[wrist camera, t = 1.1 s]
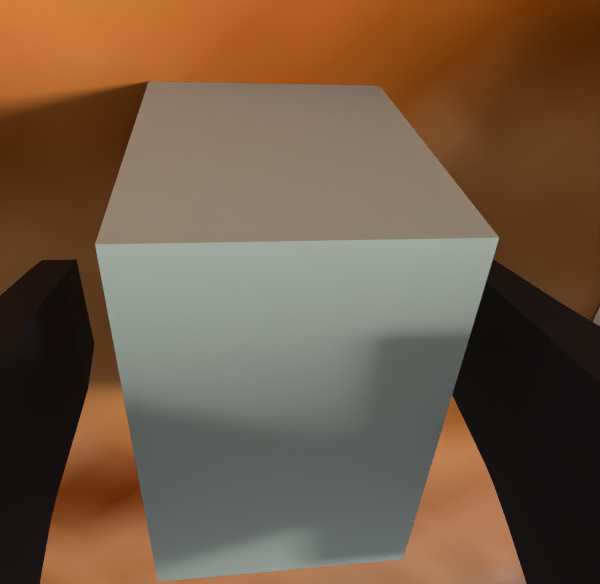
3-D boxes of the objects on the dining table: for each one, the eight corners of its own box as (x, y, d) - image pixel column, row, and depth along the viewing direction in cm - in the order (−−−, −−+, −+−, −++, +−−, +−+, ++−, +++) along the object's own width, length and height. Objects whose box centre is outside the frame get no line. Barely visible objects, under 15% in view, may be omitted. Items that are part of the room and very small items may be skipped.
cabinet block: (378, 84, 11) (499, 237, 7) (344, 347, 15) (403, 559, 11) (149, 80, 11) (94, 244, 6) (176, 353, 15) (157, 581, 10)
